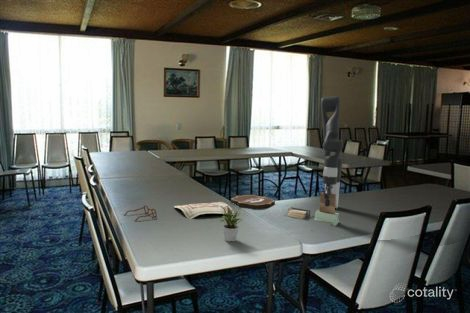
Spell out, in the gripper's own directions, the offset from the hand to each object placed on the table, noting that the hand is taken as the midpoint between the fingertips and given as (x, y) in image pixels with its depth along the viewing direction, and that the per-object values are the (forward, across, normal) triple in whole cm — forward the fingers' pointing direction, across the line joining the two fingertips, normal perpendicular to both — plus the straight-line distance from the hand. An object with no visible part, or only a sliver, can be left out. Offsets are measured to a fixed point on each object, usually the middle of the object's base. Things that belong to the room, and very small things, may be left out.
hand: (327, 205), depth 210 cm
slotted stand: (+9, 0, 0) cm, 9 cm away
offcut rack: (+9, +2, -16) cm, 19 cm away
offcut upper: (+6, +4, -16) cm, 17 cm away
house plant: (+10, +59, -32) cm, 68 cm away
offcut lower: (+8, +4, -16) cm, 18 cm away
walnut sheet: (+5, 0, 0) cm, 5 cm away
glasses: (+10, +54, -87) cm, 103 cm away
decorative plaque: (+10, -14, -51) cm, 54 cm away
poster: (+10, +23, -66) cm, 70 cm away
